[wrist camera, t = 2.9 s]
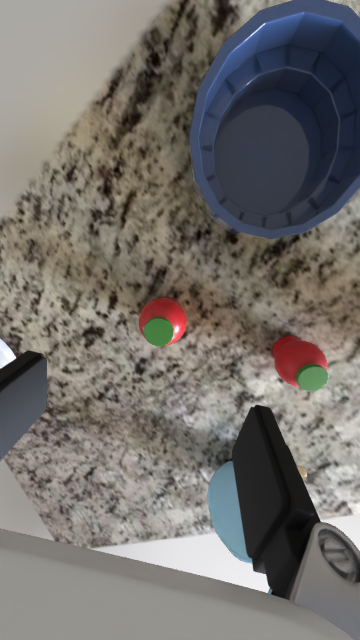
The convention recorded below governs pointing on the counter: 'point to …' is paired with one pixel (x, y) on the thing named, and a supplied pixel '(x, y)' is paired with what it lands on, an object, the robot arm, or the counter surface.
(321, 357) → the red rounded bottle shape
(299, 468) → the anatomical brain model
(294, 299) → the counter surface
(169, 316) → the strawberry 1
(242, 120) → the bowl
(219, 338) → the counter surface
